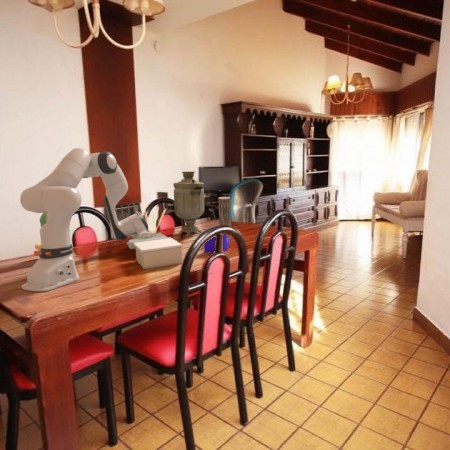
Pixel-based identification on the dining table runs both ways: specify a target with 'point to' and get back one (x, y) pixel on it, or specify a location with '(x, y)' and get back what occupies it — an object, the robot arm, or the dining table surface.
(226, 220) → the paper tube
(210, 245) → the bracket
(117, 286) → the dining table surface
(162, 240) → the lid
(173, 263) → the box
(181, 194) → the samovar
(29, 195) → the robot arm
